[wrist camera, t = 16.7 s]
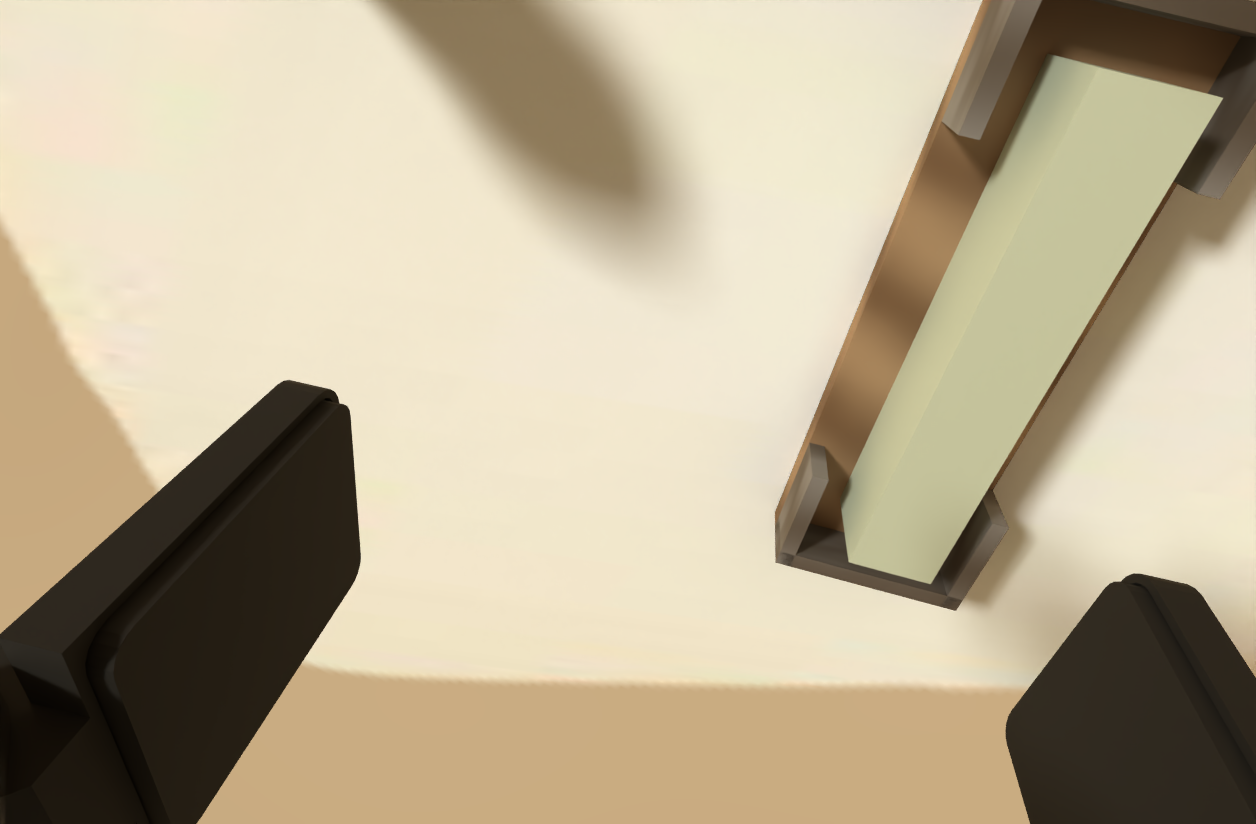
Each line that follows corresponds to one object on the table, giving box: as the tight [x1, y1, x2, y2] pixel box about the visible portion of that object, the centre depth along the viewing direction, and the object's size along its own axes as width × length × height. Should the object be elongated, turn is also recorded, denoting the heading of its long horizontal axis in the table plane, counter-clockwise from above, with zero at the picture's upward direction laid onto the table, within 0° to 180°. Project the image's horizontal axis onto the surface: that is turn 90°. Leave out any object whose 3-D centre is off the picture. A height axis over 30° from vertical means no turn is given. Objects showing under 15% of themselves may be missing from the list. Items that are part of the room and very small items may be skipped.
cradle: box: [775, 0, 1256, 611], centre depth 32 cm, size 28×10×4 cm, turn 168°
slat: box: [840, 54, 1223, 584], centre depth 31 cm, size 22×4×5 cm, turn 168°
